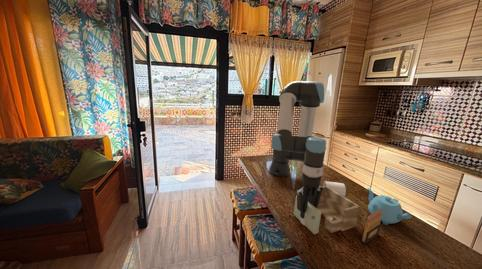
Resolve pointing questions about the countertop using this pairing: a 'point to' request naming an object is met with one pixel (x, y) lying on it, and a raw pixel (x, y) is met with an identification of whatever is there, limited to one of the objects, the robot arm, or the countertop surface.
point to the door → (310, 217)
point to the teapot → (387, 208)
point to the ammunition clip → (372, 226)
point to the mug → (336, 187)
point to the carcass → (337, 211)
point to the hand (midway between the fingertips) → (305, 222)
